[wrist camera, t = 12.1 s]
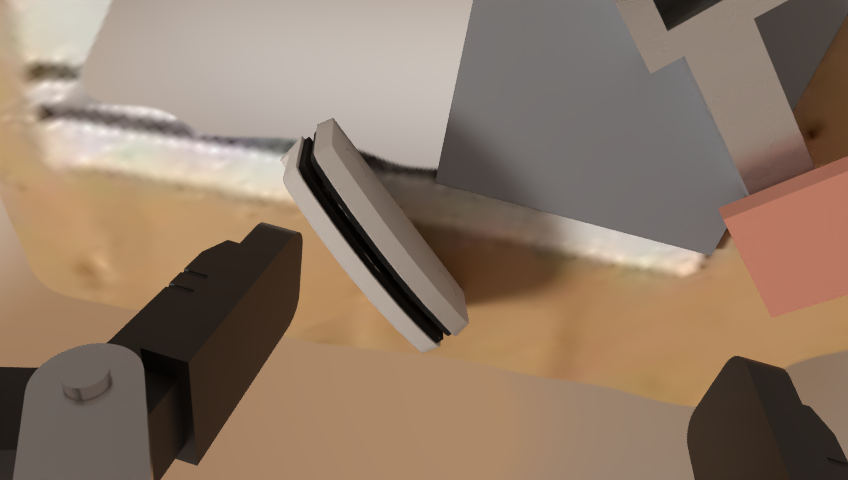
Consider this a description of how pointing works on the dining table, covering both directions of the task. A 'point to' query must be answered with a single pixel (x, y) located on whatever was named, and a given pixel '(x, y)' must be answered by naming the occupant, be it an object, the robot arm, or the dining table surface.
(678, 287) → the dining table surface
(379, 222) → the grey arched slotted block
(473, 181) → the board
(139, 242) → the dining table surface
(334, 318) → the dining table surface
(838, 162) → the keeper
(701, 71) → the grey long bar
